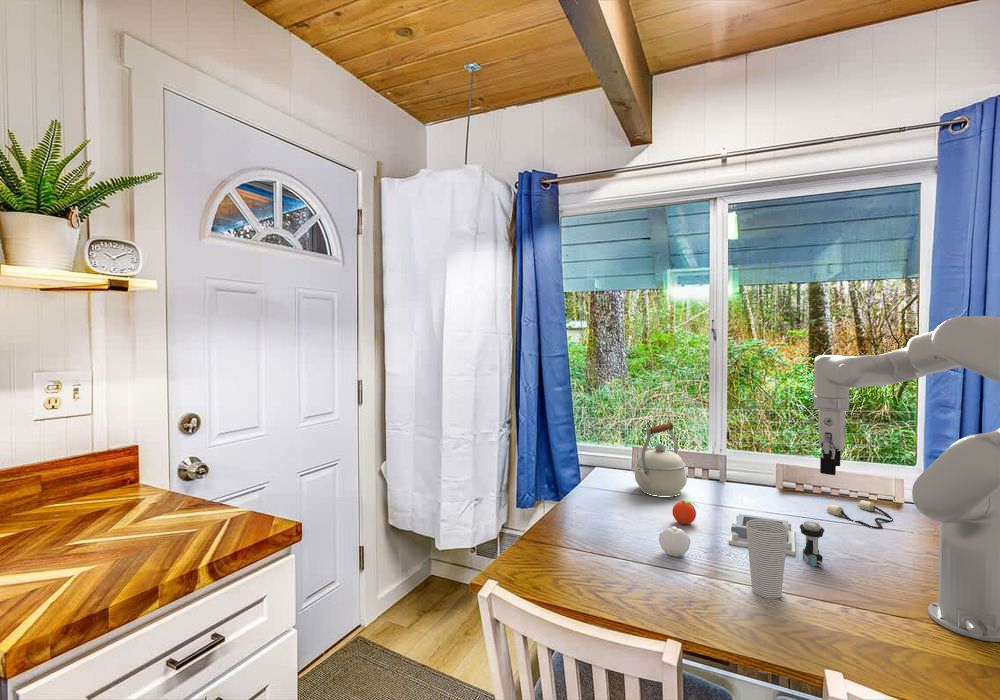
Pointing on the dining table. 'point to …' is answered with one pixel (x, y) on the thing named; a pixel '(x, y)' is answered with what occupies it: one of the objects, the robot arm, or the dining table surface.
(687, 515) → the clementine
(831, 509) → the cable
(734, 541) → the frame
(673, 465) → the kettle
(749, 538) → the cup
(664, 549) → the white rounded piece
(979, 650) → the dining table surface
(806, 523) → the push button
